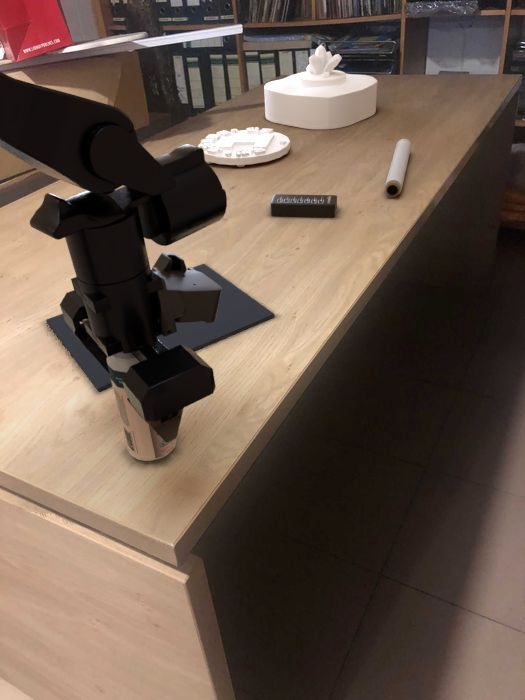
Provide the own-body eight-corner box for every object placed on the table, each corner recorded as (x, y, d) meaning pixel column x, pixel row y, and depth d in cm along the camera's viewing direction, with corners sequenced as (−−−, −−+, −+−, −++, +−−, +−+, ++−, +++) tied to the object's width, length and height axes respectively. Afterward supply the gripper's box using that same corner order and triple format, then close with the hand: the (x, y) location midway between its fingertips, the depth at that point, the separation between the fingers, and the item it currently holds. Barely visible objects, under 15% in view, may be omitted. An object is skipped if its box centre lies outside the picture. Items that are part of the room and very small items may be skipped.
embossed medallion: (258, 174, 119) (257, 159, 118) (181, 161, 128) (179, 148, 126) (305, 145, 133) (305, 131, 131) (232, 136, 142) (231, 123, 140)
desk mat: (98, 391, 66) (97, 388, 66) (46, 322, 78) (45, 319, 78) (274, 317, 76) (274, 313, 76) (204, 266, 89) (204, 263, 88)
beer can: (173, 464, 56) (154, 362, 49) (123, 465, 57) (98, 363, 50) (180, 429, 60) (164, 330, 53) (133, 430, 60) (111, 331, 54)
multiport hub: (275, 206, 106) (274, 193, 104) (337, 207, 104) (337, 194, 102) (270, 216, 102) (270, 203, 101) (334, 218, 100) (335, 204, 99)
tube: (400, 199, 105) (410, 153, 124) (401, 182, 103) (412, 138, 123) (383, 198, 106) (396, 153, 125) (384, 181, 104) (397, 138, 123)
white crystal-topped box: (388, 108, 154) (393, 39, 144) (330, 133, 139) (331, 58, 130) (312, 97, 168) (311, 33, 158) (252, 118, 153) (247, 49, 144)
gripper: (264, 277, 44) (275, 429, 53) (152, 203, 57) (177, 337, 66) (125, 334, 39) (165, 490, 48) (37, 239, 52) (82, 377, 61)
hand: (148, 413), depth 56 cm, fingers closed on beer can, 8 cm apart
